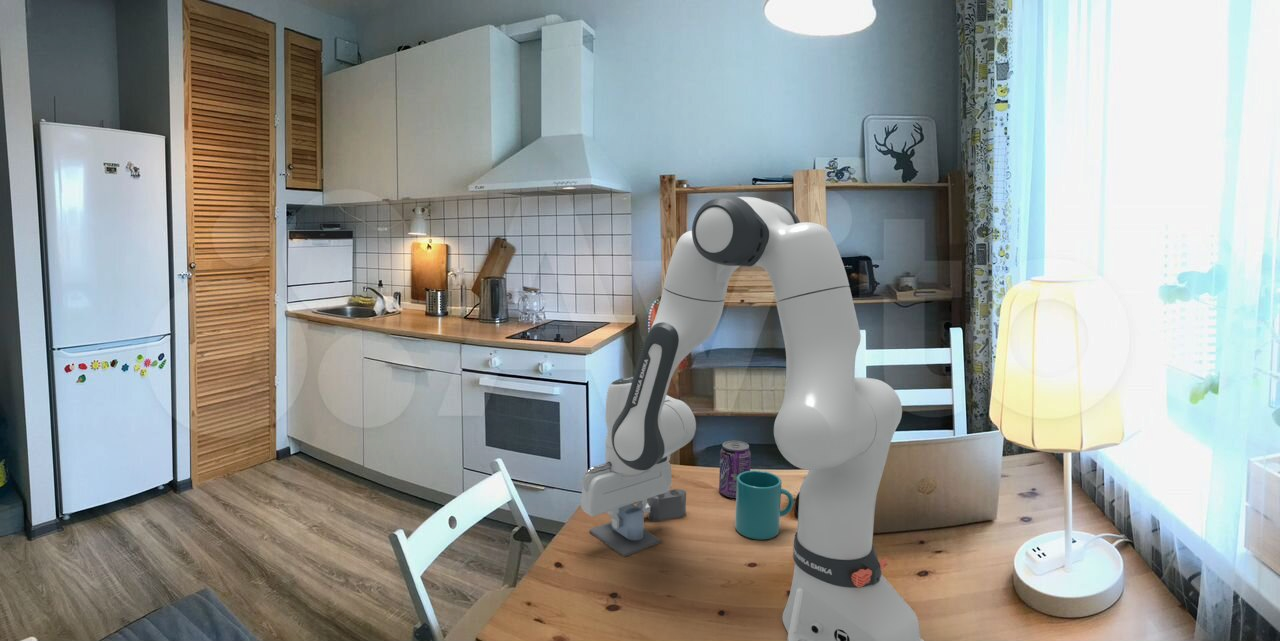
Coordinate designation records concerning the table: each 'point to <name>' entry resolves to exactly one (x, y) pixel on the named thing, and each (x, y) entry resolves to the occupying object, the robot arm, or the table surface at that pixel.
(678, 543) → the table surface
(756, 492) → the cup
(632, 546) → the pad
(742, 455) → the beverage can
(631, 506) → the blue connector
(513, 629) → the table surface
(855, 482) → the robot arm
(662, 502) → the dark gray connector
